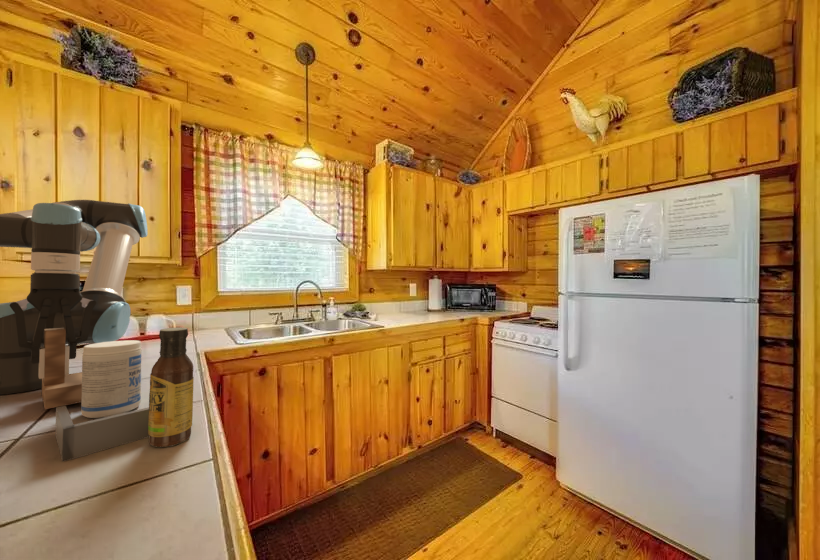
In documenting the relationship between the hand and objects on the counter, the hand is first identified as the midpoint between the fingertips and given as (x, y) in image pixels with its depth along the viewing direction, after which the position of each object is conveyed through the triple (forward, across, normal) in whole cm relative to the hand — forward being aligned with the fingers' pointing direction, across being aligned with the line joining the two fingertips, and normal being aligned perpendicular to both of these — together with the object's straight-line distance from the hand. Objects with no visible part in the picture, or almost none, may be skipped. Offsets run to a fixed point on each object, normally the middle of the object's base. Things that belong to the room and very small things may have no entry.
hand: (53, 375), depth 73 cm
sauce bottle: (+7, +12, -40) cm, 43 cm away
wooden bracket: (+6, +4, 0) cm, 7 cm away
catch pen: (+7, +8, -28) cm, 30 cm away
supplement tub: (+7, +8, -14) cm, 18 cm away
